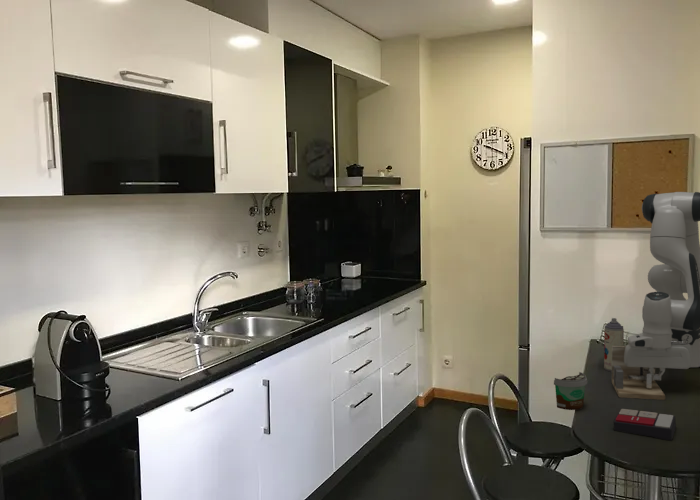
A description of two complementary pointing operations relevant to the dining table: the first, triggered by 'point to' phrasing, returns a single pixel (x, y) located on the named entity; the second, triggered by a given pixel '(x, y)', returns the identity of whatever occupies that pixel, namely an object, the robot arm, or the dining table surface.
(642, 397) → the gauge frame
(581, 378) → the food container
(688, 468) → the dining table surface
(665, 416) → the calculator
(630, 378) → the slab with metal rod
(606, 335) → the aerosol can
